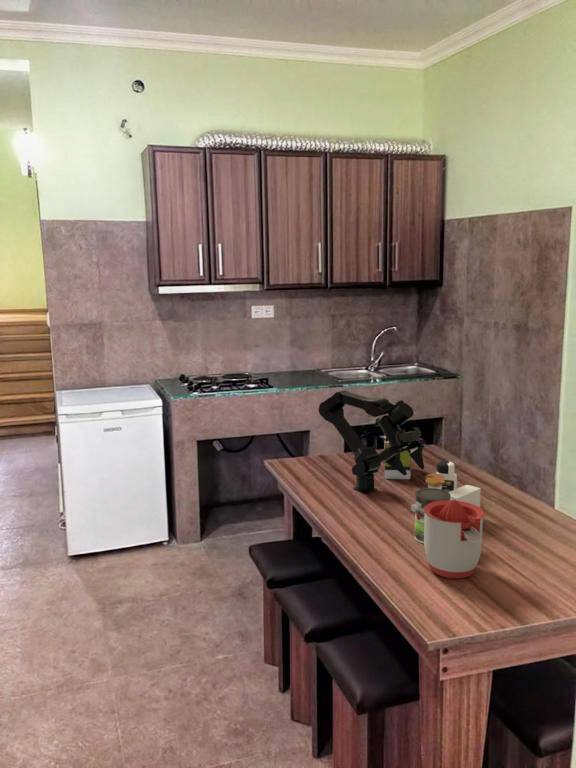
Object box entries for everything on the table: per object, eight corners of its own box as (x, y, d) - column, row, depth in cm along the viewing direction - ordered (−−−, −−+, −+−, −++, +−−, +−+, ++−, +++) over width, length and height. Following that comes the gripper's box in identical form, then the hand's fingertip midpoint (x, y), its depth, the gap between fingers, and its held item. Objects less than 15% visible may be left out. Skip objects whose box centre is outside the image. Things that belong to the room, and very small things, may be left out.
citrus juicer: (449, 591, 170) (452, 516, 166) (411, 563, 186) (412, 494, 182) (498, 578, 176) (502, 506, 172) (457, 553, 192) (459, 486, 188)
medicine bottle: (432, 497, 236) (433, 464, 234) (436, 490, 243) (437, 458, 241) (453, 499, 234) (454, 466, 232) (456, 492, 240) (457, 460, 238)
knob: (421, 505, 222) (421, 476, 220) (432, 500, 226) (433, 472, 224) (436, 510, 218) (437, 480, 216) (447, 505, 222) (448, 476, 220)
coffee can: (427, 548, 195) (428, 502, 193) (407, 535, 205) (408, 491, 202) (456, 541, 199) (457, 496, 197) (435, 529, 209) (436, 485, 206)
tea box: (384, 467, 271) (384, 431, 268) (409, 467, 270) (409, 432, 267) (384, 479, 256) (384, 441, 254) (410, 480, 255) (411, 442, 252)
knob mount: (407, 512, 223) (407, 483, 221) (431, 502, 231) (431, 474, 229) (456, 528, 209) (456, 498, 207) (479, 517, 217) (480, 488, 215)
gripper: (388, 425, 219) (411, 467, 214) (424, 415, 231) (447, 455, 226) (368, 440, 227) (390, 482, 222) (404, 431, 239) (426, 469, 234)
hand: (414, 471), depth 226 cm, fingers open, 9 cm apart
